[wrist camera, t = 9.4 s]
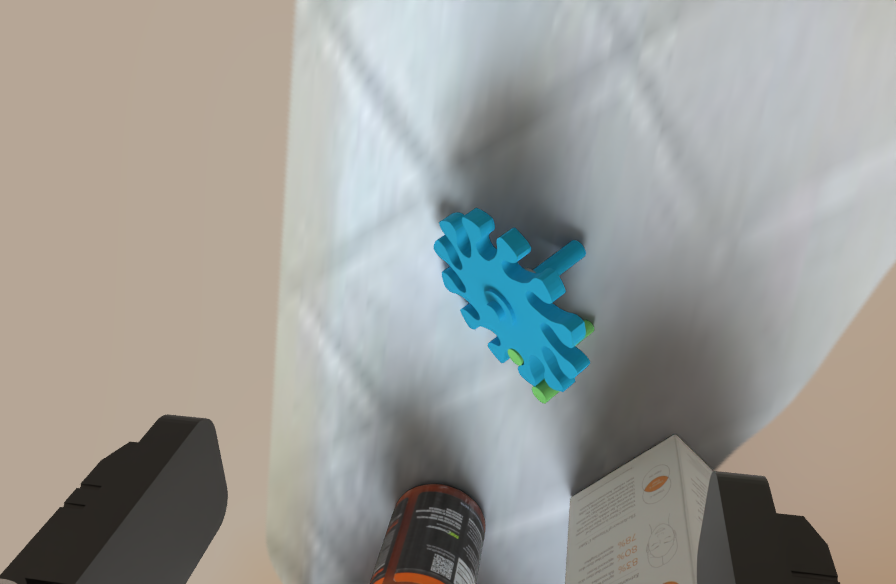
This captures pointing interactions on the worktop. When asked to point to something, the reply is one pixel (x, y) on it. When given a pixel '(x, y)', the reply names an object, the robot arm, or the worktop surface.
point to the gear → (515, 300)
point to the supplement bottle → (432, 539)
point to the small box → (640, 520)
